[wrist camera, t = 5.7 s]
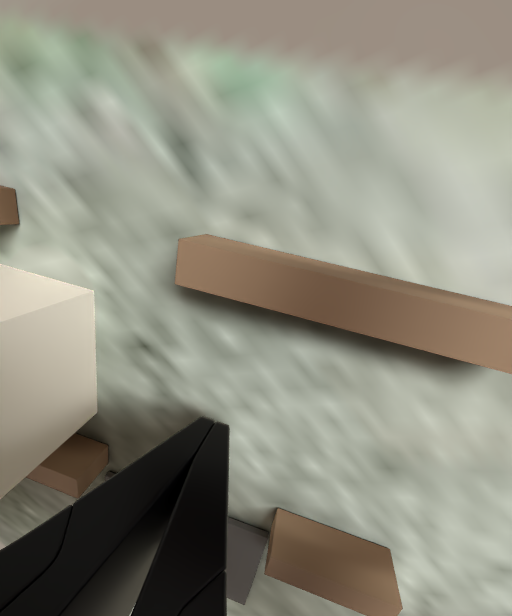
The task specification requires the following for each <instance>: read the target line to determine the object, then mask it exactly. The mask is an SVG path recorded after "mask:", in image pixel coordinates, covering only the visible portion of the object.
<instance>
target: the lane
mask: <svg viewBox="0 0 512 616" xmlns="http://www.w3.org/2000/svg"><path fill="white" fill-rule="evenodd" d="M7 224H19V219H18V211H17V203H16V195H15V189H13V188H8V187H4V186H0V225H7ZM175 284H177V285H180V286H184V287H188V288H192V289H195V290H199V291H203V292H207V293H210V294H214V295H218V296H222V297H225V298H229V299H233V300H237V301H240V302H244V303H248V304H252V305H255V306H259V307H263V308H267V309H270V310H274V311H278V312H282V313H285V314H289V315H293V316H297V317H300V318H304V319H308V320H311V321H315V322H319V323H323V324H326V325H330V326H334V327H338V328H341V329H345V330H349V331H353V332H356V333H360V334H364V335H368V336H371V337H375V338H379V339H383V340H386V341H390V342H394V343H398V344H401V345H405V346H409V347H413V348H416V349H420V350H424V351H428V352H431V353H435V354H439V355H443V356H446V357H450V358H454V359H457V360H461V361H465V362H469V363H472V364H476V365H480V366H484V367H487V368H491V369H495V370H499V371H502V372H506V373H510V374H512V306H509V305H505V304H500V303H496V302H492V301H488V300H483V299H479V298H475V297H471V296H466V295H462V294H458V293H454V292H449V291H445V290H441V289H437V288H432V287H428V286H424V285H420V284H415V283H411V282H407V281H403V280H399V279H394V278H390V277H386V276H382V275H377V274H373V273H369V272H365V271H360V270H356V269H352V268H348V267H343V266H339V265H335V264H331V263H326V262H322V261H318V260H314V259H309V258H305V257H301V256H297V255H293V254H288V253H284V252H280V251H276V250H271V249H267V248H263V247H259V246H254V245H250V244H246V243H242V242H237V241H233V240H229V239H225V238H220V237H216V236H212V235H208V234H205V235H199V236H193V237H187V238H182V239H179V242H178V254H177V265H176V276H175ZM107 464H108V445H106V444H103V443H100V442H97V441H95V440H92V439H89V438H87V437H84V436H81V435H78V434H76V433H74V434H73V435H72V436H71V437H69V438H68V439H67V440H66V441H65V442H64V443H63V444H62V445H61V446H59V447H58V448H57V449H56V450H55V451H54V452H53V453H52V454H50V455H49V456H48V457H47V458H46V459H45V460H44V461H43V462H42V463H40V464H39V465H38V466H37V467H36V468H35V469H34V470H33V471H32V472H30V473H29V474H28V475H27V476H26V478H29V479H31V480H34V481H36V482H39V483H41V484H44V485H46V486H49V487H51V488H53V489H56V490H58V491H61V492H63V493H66V494H68V495H71V496H73V497H76V498H79V497H80V496H81V495H82V494H83V492H84V491H85V490H86V489H87V488H88V486H89V485H90V484H91V483H92V482H93V480H94V479H95V478H96V477H97V476H98V475H99V473H100V472H101V471H102V470H103V469H104V467H105V466H106V465H107ZM264 574H265V575H268V576H270V577H273V578H275V579H278V580H280V581H283V582H285V583H288V584H290V585H293V586H295V587H297V588H300V589H302V590H305V591H307V592H310V593H312V594H315V595H317V596H320V597H322V598H325V599H327V600H330V601H332V602H334V603H337V604H339V605H342V606H344V607H347V608H349V609H352V610H354V611H357V612H359V613H362V614H364V615H367V616H397V615H398V614H399V613H400V611H401V610H402V609H403V608H402V603H401V599H400V594H399V589H398V585H397V580H396V576H395V571H394V566H393V562H392V557H391V552H390V549H388V548H385V547H382V546H380V545H377V544H374V543H371V542H369V541H366V540H363V539H361V538H358V537H355V536H352V535H350V534H347V533H344V532H342V531H339V530H336V529H333V528H331V527H328V526H325V525H323V524H320V523H317V522H314V521H312V520H309V519H306V518H304V517H301V516H298V515H295V514H293V513H290V512H287V511H285V510H282V509H279V508H277V511H276V514H275V517H274V520H273V522H272V526H271V533H270V539H269V546H268V553H267V559H266V566H265V573H264Z"/></svg>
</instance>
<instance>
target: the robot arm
mask: <svg viewBox="0 0 512 616" xmlns="http://www.w3.org/2000/svg"><path fill="white" fill-rule="evenodd" d="M229 430H230V428H229V425H227V424H224V423H221V422H218V421H217V422H215V421H214V420H213V419H210V418H207V417H204V416H202V417H200V418H198V419H197V420H195V421H194V422H192V423H191V424H189V425H188V426H186V427H185V428H183V429H182V430H180V431H179V432H177V433H176V434H174V435H173V436H172V437H170V438H169V439H167V440H166V441H164V442H163V443H161V444H160V445H158V446H157V447H155V448H154V449H152V450H151V451H149V452H148V453H146V454H145V455H144V456H142V457H141V458H139V459H138V460H136V461H135V462H133V463H132V464H130V465H129V466H127V467H126V468H124V469H123V470H121V471H120V472H118V473H117V474H115V475H114V476H113V477H111V478H110V479H108V480H107V481H105V482H104V483H102V484H101V485H99V486H98V487H96V488H95V489H93V490H92V491H90V492H89V493H87V494H86V495H84V496H83V497H82V498H80V499H79V500H77V501H76V502H75V503H74V504H73V506H72V505H69V506H68V507H66V508H65V509H64V510H62V511H61V512H59V513H58V514H56V515H55V516H53V517H52V518H50V519H49V520H47V521H46V522H44V523H43V524H41V525H40V526H38V527H36V528H35V529H33V530H32V531H30V532H29V533H27V534H26V535H24V536H23V537H21V538H20V539H18V540H16V541H15V542H13V543H11V544H10V545H8V546H6V547H5V548H3V549H1V550H0V616H129V614H130V613H131V611H132V609H133V607H134V609H133V611H132V614H131V616H227V602H226V599H227V573H226V569H227V537H228V484H229ZM135 603H136V604H135ZM134 605H135V606H134Z"/></svg>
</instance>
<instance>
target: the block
mask: <svg viewBox="0 0 512 616" xmlns="http://www.w3.org/2000/svg"><path fill="white" fill-rule="evenodd" d="M96 413H97V377H96V342H95V307H94V291H93V290H90V289H86V288H83V287H79V286H76V285H72V284H69V283H65V282H62V281H58V280H55V279H51V278H48V277H44V276H41V275H37V274H34V273H30V272H27V271H23V270H20V269H16V268H13V267H9V266H6V265H2V264H0V499H1V498H2V497H4V496H5V495H6V494H7V493H8V492H9V491H10V490H11V489H13V488H14V487H15V486H16V485H17V484H18V483H19V482H20V481H21V480H23V479H24V478H25V477H26V476H27V475H28V474H29V473H30V472H32V471H33V470H34V469H35V468H36V467H37V466H38V465H39V464H40V463H42V462H43V461H44V460H45V459H46V458H47V457H48V456H49V455H50V454H52V453H53V452H54V451H55V450H56V449H57V448H58V447H59V446H61V445H62V444H63V443H64V442H65V441H66V440H67V439H68V438H69V437H71V436H72V435H73V434H74V433H75V432H76V431H77V430H78V429H80V428H81V427H82V426H83V425H84V424H85V423H86V422H87V421H88V420H90V419H91V418H92V417H93V416H94V415H95V414H96Z"/></svg>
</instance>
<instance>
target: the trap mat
mask: <svg viewBox="0 0 512 616" xmlns="http://www.w3.org/2000/svg"><path fill="white" fill-rule="evenodd" d="M114 475H115V474H114V473H112V472H109V471H108V472H107V474H106V475H105V481H107V480H108V479H110V478H111V477H113V476H114ZM268 535H269V533H268V532H266V531H263V530H261V529H258V528H255V527H253V526H250V525H247V524H245V523H242V522H240V521H237V520H234V519H232V518H229V517H228V537H227V569H226V573H227V598H229V599H231V600H234V601H236V602H238V603H241V604H243V605H245V602H246V599H247V597H248V594H249V591H250V588H251V585H252V582H253V580H254V577H255V574H256V571H257V568H258V565H259V563H260V560H261V557H262V554H263V551H264V548H265V546H266V543H267V540H268Z"/></svg>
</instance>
